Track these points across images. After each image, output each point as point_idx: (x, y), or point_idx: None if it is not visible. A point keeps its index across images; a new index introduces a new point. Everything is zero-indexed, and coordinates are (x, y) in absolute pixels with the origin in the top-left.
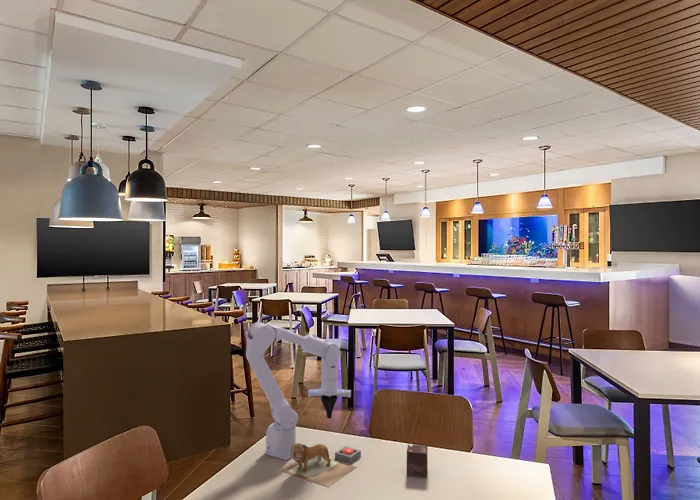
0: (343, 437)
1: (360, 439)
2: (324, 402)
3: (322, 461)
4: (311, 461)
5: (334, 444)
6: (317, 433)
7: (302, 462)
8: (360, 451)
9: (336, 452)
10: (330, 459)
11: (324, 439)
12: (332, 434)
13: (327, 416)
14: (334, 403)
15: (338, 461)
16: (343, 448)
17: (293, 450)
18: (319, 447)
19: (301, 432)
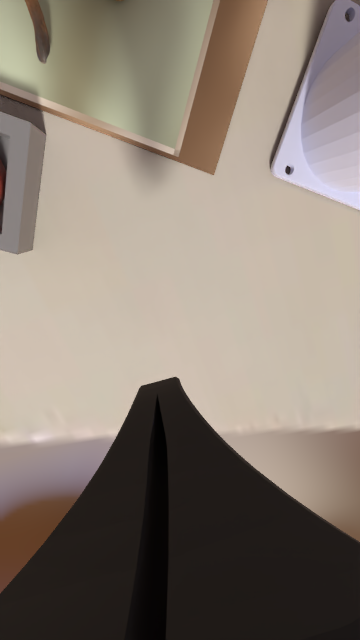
0: (123, 408)
1: (37, 415)
2: (274, 538)
3: (101, 59)
4: (169, 38)
5: (132, 325)
6: (249, 406)
7: (220, 2)
8: None
9: (20, 127)
10: (39, 52)
11: (200, 361)
12: None
13: (175, 384)
14: (5, 591)
15: (2, 93)
16: (9, 213)
17: None
18: None
19: (319, 392)
